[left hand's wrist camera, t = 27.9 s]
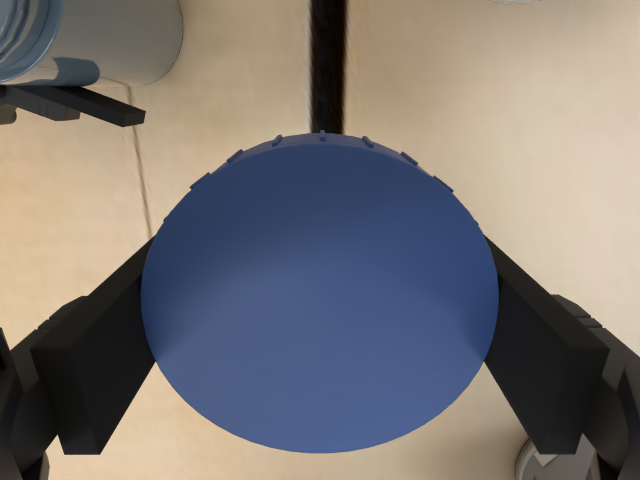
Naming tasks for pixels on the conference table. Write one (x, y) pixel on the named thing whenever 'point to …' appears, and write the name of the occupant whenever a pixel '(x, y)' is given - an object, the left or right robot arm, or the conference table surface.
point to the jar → (88, 42)
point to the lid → (319, 295)
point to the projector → (513, 1)
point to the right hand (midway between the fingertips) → (150, 36)
